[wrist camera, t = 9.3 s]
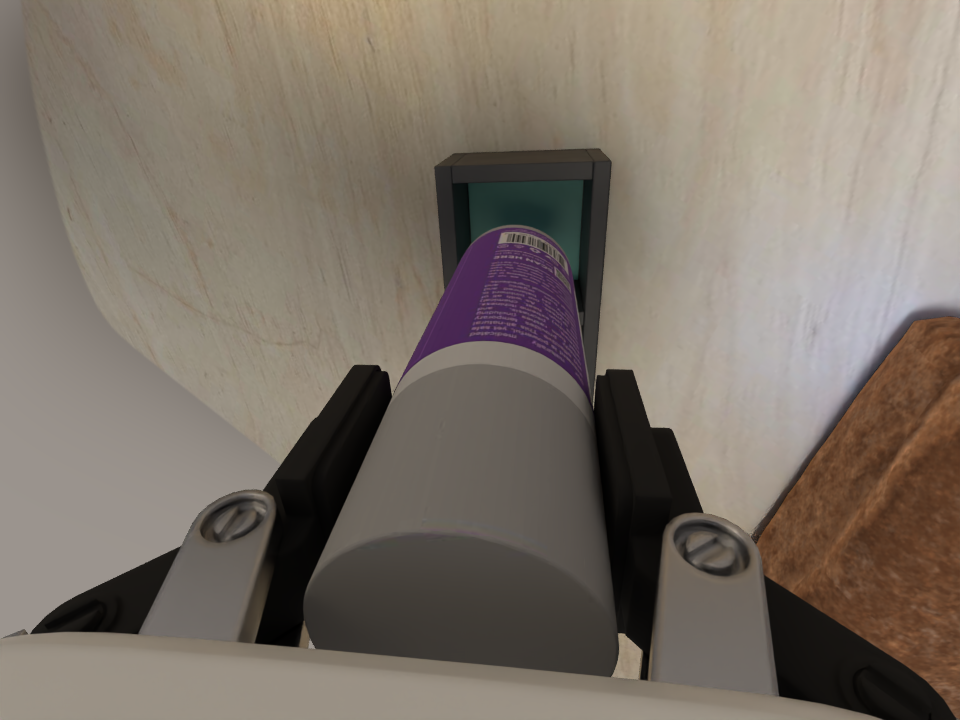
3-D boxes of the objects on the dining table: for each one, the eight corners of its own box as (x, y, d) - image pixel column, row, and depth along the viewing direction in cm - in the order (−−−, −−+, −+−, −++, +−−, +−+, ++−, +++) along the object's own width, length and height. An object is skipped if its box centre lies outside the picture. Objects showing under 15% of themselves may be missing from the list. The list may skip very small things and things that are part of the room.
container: (435, 258, 20) (224, 581, 7) (540, 201, 18) (528, 473, 5) (492, 350, 22) (410, 750, 8) (591, 305, 20) (681, 707, 7)
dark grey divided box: (468, 386, 35) (456, 433, 30) (453, 153, 28) (434, 166, 23) (583, 389, 34) (590, 437, 29) (600, 148, 27) (612, 160, 22)
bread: (700, 601, 43) (747, 756, 33) (910, 293, 28) (1107, 402, 18) (890, 646, 43) (995, 815, 33) (1198, 360, 28) (1553, 505, 18)
